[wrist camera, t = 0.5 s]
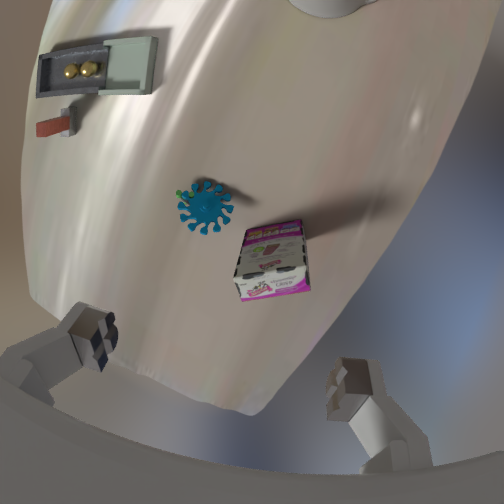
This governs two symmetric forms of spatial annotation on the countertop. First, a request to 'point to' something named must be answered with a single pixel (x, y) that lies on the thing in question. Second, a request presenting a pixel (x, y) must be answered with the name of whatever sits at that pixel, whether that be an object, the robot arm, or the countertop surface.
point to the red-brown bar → (59, 124)
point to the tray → (130, 66)
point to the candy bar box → (273, 262)
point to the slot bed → (57, 84)
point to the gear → (204, 207)
